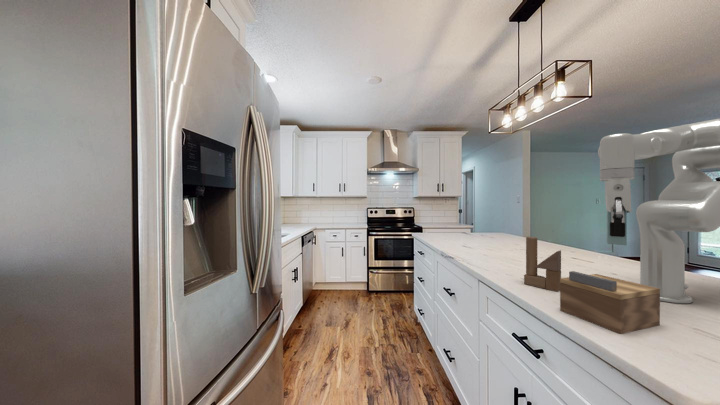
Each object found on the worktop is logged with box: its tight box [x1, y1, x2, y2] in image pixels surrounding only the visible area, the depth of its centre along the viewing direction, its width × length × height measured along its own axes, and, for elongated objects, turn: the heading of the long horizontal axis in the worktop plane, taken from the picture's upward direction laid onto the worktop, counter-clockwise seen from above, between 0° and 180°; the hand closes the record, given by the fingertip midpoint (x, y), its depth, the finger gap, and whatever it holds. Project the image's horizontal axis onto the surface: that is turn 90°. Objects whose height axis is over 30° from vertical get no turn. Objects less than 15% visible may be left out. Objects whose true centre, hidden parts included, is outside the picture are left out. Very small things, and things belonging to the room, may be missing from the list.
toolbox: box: [559, 283, 661, 335], centre depth 71 cm, size 15×14×8 cm
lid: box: [560, 270, 660, 300], centre depth 71 cm, size 15×14×4 cm
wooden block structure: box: [523, 236, 562, 293], centre depth 96 cm, size 4×11×18 cm, turn 35°
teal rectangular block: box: [606, 208, 628, 246], centre depth 80 cm, size 4×4×12 cm
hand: (616, 234), depth 80 cm, fingers closed on teal rectangular block, 4 cm apart
